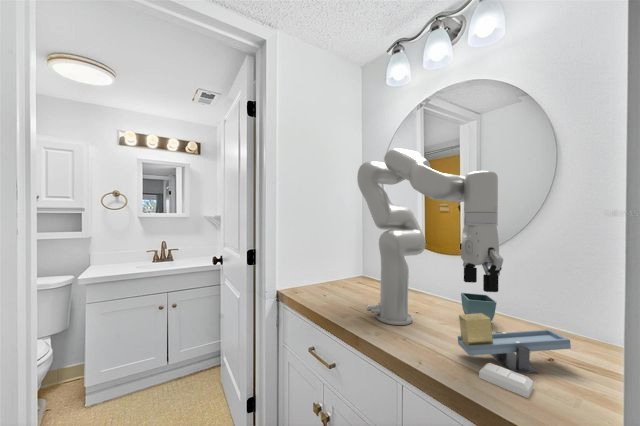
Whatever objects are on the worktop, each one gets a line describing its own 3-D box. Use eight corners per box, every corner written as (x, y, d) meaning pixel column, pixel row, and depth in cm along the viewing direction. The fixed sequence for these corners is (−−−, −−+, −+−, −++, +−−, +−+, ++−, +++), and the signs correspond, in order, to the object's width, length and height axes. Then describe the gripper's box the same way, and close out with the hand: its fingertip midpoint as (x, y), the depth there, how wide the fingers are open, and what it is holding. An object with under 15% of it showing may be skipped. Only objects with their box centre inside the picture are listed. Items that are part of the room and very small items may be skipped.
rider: (468, 348, 68) (465, 320, 68) (461, 341, 71) (458, 314, 72) (493, 346, 67) (490, 318, 68) (484, 339, 71) (482, 313, 71)
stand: (511, 372, 64) (512, 349, 64) (487, 351, 74) (488, 331, 74) (538, 373, 64) (538, 350, 64) (510, 352, 74) (510, 332, 74)
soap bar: (486, 371, 65) (486, 360, 65) (533, 390, 58) (533, 377, 58) (479, 379, 62) (479, 367, 62) (528, 400, 55) (528, 386, 55)
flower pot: (496, 329, 89) (497, 302, 90) (467, 326, 91) (468, 299, 91) (486, 319, 98) (486, 294, 98) (459, 316, 100) (460, 292, 100)
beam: (470, 356, 66) (469, 347, 66) (457, 343, 73) (456, 334, 73) (572, 349, 65) (571, 340, 65) (549, 336, 72) (548, 328, 72)
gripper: (450, 219, 79) (450, 278, 78) (483, 219, 61) (483, 295, 61) (477, 220, 78) (477, 279, 78) (518, 220, 61) (517, 296, 60)
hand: (479, 286), depth 69 cm, fingers open, 9 cm apart
